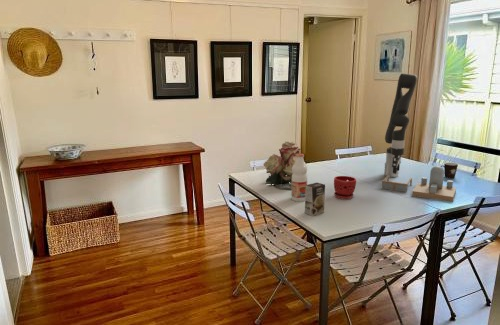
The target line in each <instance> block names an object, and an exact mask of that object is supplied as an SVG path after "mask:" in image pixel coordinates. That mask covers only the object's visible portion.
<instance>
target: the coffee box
mask: <svg viewBox="0 0 500 325" xmlns="http://www.w3.org/2000/svg"><path fill="white" fill-rule="evenodd" d="M325 194H326V184H324V183H321V182H313V183H310V184H307V185H306V192H305V201H304V213H305V214H307V215H309V216H311V217H315V216H317V215H320V214H324V213H325V199H326V197H325V196H326V195H325Z"/></svg>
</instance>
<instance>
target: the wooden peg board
mask: <svg viewBox="0 0 500 325" xmlns="http://www.w3.org/2000/svg"><path fill="white" fill-rule="evenodd" d="M440 166H441V165H434V166H433V167H431V169H430V172H429V173H430V174H429V181H428V177H426V176H425V177H424V176H422V177H421V181H420V182H417V184H416V185H415V187H414V188H413V189H412V192H411V193H412V196H413V197H418V198H419V197H420V198H424V199H425V198H426V199H432V200H438V201H444V202H453V201H454V198H455V195H456V192H457V187H455V186H453V184H454V180H450V179H449V180H447V181H446V185H444V178H445V174H444V167H443V166H442V167H440Z"/></svg>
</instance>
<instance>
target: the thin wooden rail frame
mask: <svg viewBox="0 0 500 325" xmlns="http://www.w3.org/2000/svg"><path fill="white" fill-rule="evenodd" d="M380 182H381V189H383V190H384V189H385V190H391V191H398V192H405V193H407V192H408V186H412V185H413V184H412V183H413V177H410V178H409V180H408V181H406V183H402V182H396V181H390V177H389V175H387V176H385V178H384V179H382V180H381V181H380Z"/></svg>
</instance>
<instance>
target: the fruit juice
mask: <svg viewBox="0 0 500 325" xmlns="http://www.w3.org/2000/svg"><path fill="white" fill-rule="evenodd" d="M304 159H305V154H304V153H299V154H296V161H295V164H294V165H293V166H292V172H293V174H292V186H291V189H290V190H291V200H292V201H294V202H305V192H306V185H308V175H307V172H308V166H307V164H306V163H305V160H304Z"/></svg>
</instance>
